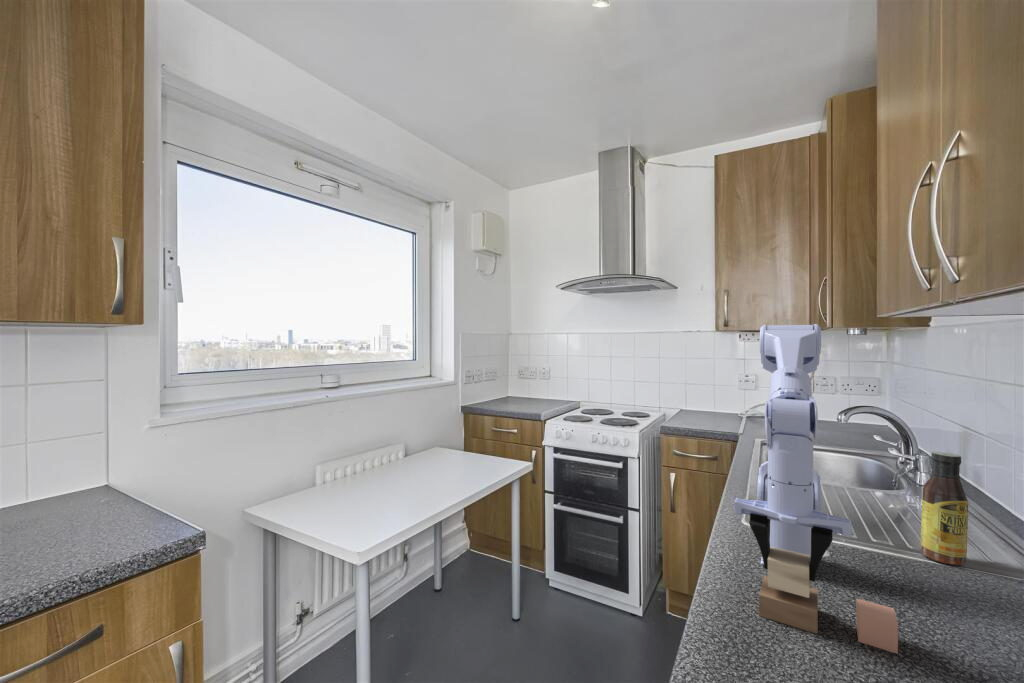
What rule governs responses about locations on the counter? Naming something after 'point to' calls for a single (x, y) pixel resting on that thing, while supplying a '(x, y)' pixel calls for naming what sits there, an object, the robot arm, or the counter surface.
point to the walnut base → (789, 607)
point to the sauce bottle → (944, 512)
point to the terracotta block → (877, 625)
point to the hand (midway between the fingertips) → (789, 572)
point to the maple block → (789, 571)
